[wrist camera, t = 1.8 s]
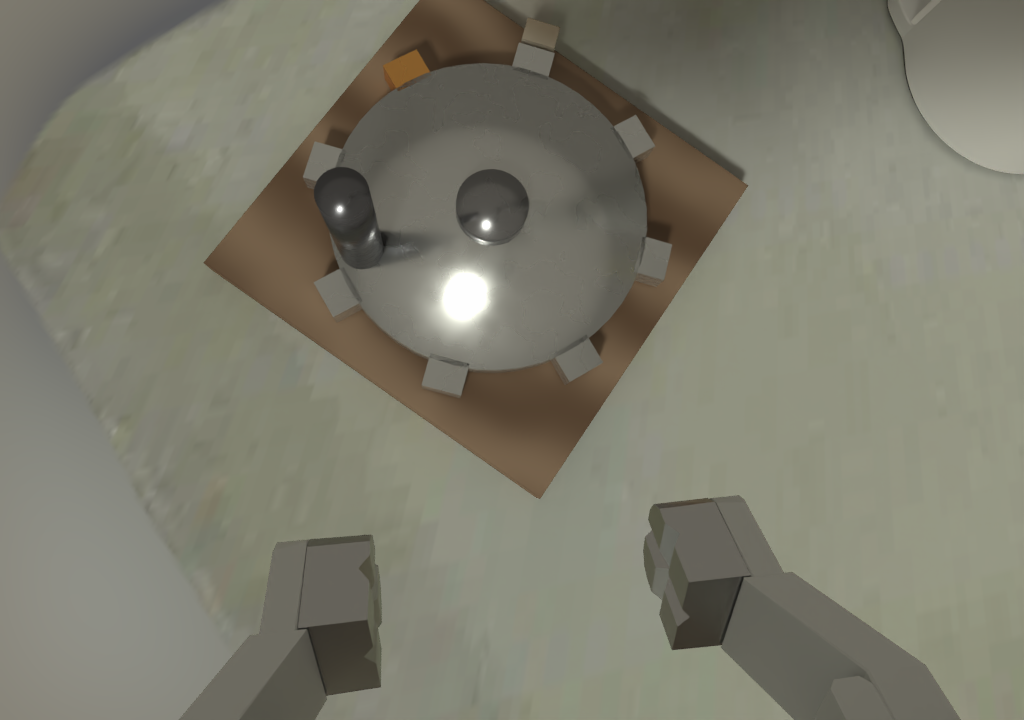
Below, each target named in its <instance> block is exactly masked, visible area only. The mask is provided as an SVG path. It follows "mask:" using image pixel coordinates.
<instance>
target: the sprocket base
mask: <svg viewBox="0 0 1024 720" xmlns="http://www.w3.org/2000/svg"><path fill="white" fill-rule="evenodd" d="M559 30H560V27H557V26H554V25H551V24H547V23H544V22H541V21H538V20H534V19H531V18H528V19H527V22H526V26H525V29H524V28H522V27H521V26H519V25H518V24H517V23H515V22H514V21H512V20H511V19H509V18H508V17H507V16H505V15H504V14H502V13H501V12H499V11H498V10H497V9H495V8H494V7H492V6H491V5H489V4H488V3H486V2H485V1H484V0H420V1H419V2H418V3H417V4H416V5H415V7H414V8H413V9H412V10H411V11H410V13H409V14H408V15H407V16H406V18H405V19H404V20H403V21H402V22H401V24H400V25H399V26H398V27H397V28H396V30H395V31H394V32H393V33H392V35H391V36H390V37H389V38H388V39H387V41H386V42H385V43H384V44H383V45H382V47H381V48H380V49H379V50H378V52H377V53H376V54H375V55H374V56H373V58H372V59H371V60H370V61H369V62H368V64H367V65H366V66H365V67H364V69H363V70H362V71H361V72H360V73H359V75H358V76H357V77H356V78H355V79H354V81H353V82H352V83H351V84H350V86H349V87H348V88H347V89H346V90H345V92H344V93H343V94H342V95H341V96H340V98H339V99H338V100H337V101H336V103H335V104H334V105H333V106H332V107H331V109H330V110H329V111H328V112H327V114H326V115H325V116H324V117H323V118H322V120H321V121H320V122H319V123H318V124H317V126H316V127H315V128H314V129H313V131H312V132H311V133H310V134H309V135H308V137H307V138H306V139H305V140H304V141H303V143H302V144H301V145H300V146H299V148H298V149H297V150H296V151H295V152H294V154H293V155H292V156H291V157H290V158H289V160H288V161H287V162H286V163H285V165H284V166H283V167H282V168H281V169H280V171H279V172H278V173H277V174H276V175H275V177H274V178H273V179H272V180H271V182H270V183H269V184H268V185H267V186H266V188H265V189H264V190H263V191H262V192H261V194H260V195H259V196H258V197H257V199H256V200H255V201H254V202H253V203H252V205H251V206H250V207H249V208H248V209H247V211H246V212H245V213H244V214H243V216H242V217H241V218H240V219H239V220H238V222H237V223H236V224H235V225H234V227H233V228H232V229H231V230H230V231H229V233H228V234H227V235H226V236H225V237H224V239H223V240H222V241H221V242H220V244H219V245H218V246H217V247H216V248H215V250H214V251H213V252H212V253H211V254H210V256H209V257H208V258H207V259H206V261H205V262H204V264H206V265H207V266H208V267H209V268H210V269H211V270H213V271H214V272H215V273H217V274H218V275H220V276H221V277H223V278H224V279H225V280H227V281H228V282H230V283H231V284H233V285H234V286H235V287H237V288H238V289H240V290H241V291H243V292H244V293H245V294H247V295H248V296H250V297H251V298H253V299H254V300H255V301H257V302H258V303H260V304H261V305H262V306H264V307H265V308H267V309H268V310H270V311H271V312H272V313H274V314H275V315H277V316H278V317H280V318H281V319H282V320H284V321H285V322H287V323H288V324H290V325H291V326H292V327H294V328H295V329H297V330H298V331H300V332H301V333H302V334H304V335H305V336H307V337H308V338H310V339H311V340H312V341H314V342H315V343H317V344H318V345H319V346H321V347H322V348H324V349H325V350H327V351H328V352H329V353H331V354H332V355H334V356H335V357H337V358H338V359H339V360H341V361H342V362H344V363H345V364H347V365H348V366H349V367H351V368H352V369H354V370H355V371H357V372H358V373H359V374H361V375H362V376H364V377H365V378H367V379H368V380H369V381H371V382H372V383H374V384H375V385H376V386H378V387H379V388H381V389H382V390H384V391H385V392H386V393H388V394H389V395H391V396H392V397H394V398H395V399H396V400H398V401H399V402H401V403H402V404H404V405H405V406H406V407H408V408H409V409H411V410H412V411H414V412H415V413H416V414H418V415H419V416H421V417H422V418H423V419H425V420H426V421H428V422H429V423H431V424H432V425H433V426H435V427H436V428H438V429H439V430H441V431H442V432H443V433H445V434H446V435H448V436H449V437H451V438H452V439H453V440H455V441H456V442H458V443H459V444H461V445H462V446H463V447H465V448H466V449H468V450H469V451H471V452H472V453H473V454H475V455H476V456H478V457H479V458H480V459H482V460H483V461H485V462H486V463H488V464H489V465H490V466H492V467H493V468H495V469H496V470H498V471H499V472H500V473H502V474H503V475H505V476H506V477H508V478H509V479H510V480H512V481H513V482H515V483H516V484H518V485H519V486H520V487H522V488H523V489H525V490H526V491H528V492H529V493H530V494H532V495H533V496H535V497H536V498H539V499H540V498H541V497H542V495H543V494H544V492H545V491H546V489H547V488H548V486H549V485H550V483H551V482H552V480H553V478H554V477H555V475H556V474H557V472H558V471H559V469H560V468H561V466H562V465H563V463H564V462H565V460H566V459H567V457H568V456H569V454H570V453H571V451H572V450H573V448H574V447H575V445H576V444H577V442H578V441H579V439H580V438H581V436H582V435H583V433H584V432H585V430H586V429H587V427H588V426H589V424H590V423H591V421H592V420H593V418H594V417H595V415H596V414H597V412H598V411H599V409H600V408H601V406H602V405H603V403H604V402H605V400H606V399H607V397H608V396H609V394H610V393H611V391H612V390H613V388H614V387H615V385H616V384H617V382H618V381H619V379H620V378H621V376H622V375H623V373H624V372H625V370H626V369H627V367H628V366H629V364H630V363H631V361H632V360H633V358H634V357H635V355H636V354H637V352H638V351H639V349H640V348H641V346H642V345H643V343H644V342H645V340H646V339H647V337H648V336H649V334H650V333H651V331H652V330H653V328H654V327H655V325H656V323H657V322H658V320H659V319H660V317H661V316H662V314H663V313H664V311H665V310H666V308H667V307H668V305H669V304H670V302H671V301H672V299H673V298H674V296H675V295H676V293H677V292H678V290H679V289H680V287H681V286H682V284H683V283H684V281H685V280H686V278H687V277H688V275H689V274H690V272H691V271H692V269H693V268H694V266H695V265H696V263H697V262H698V260H699V259H700V257H701V256H702V254H703V253H704V251H705V250H706V248H707V247H708V245H709V244H710V242H711V241H712V239H713V238H714V236H715V235H716V233H717V232H718V230H719V229H720V227H721V226H722V224H723V223H724V221H725V220H726V218H727V217H728V215H729V214H730V212H731V211H732V209H733V208H734V206H735V205H736V203H737V202H738V200H739V199H740V197H741V196H742V194H743V193H744V191H745V190H746V188H747V187H748V185H747V184H745V183H744V182H742V181H741V180H740V179H738V178H737V177H735V176H734V175H732V174H731V173H730V172H728V171H727V170H725V169H724V168H722V167H721V166H720V165H718V164H717V163H715V162H714V161H712V160H711V159H710V158H708V157H707V156H705V155H704V154H702V153H701V152H700V151H698V150H697V149H695V148H694V147H692V146H691V145H690V144H688V143H687V142H685V141H684V140H682V139H681V138H680V137H678V136H677V135H675V134H674V133H672V132H671V131H670V130H668V129H667V128H665V127H664V126H662V125H661V124H660V123H658V122H657V121H655V120H654V119H652V118H651V117H649V116H648V115H647V114H645V113H644V112H642V111H641V110H639V109H638V108H637V107H635V106H634V105H632V104H631V103H629V102H628V101H627V100H625V99H624V98H622V97H621V96H619V95H618V94H617V93H615V92H614V91H612V90H611V89H609V88H608V87H607V86H605V85H604V84H602V83H601V82H599V81H598V80H597V79H595V78H594V77H592V76H591V75H589V74H588V73H587V72H585V71H584V70H582V69H581V68H579V67H578V66H577V65H575V64H574V63H572V62H571V61H569V60H568V59H567V58H565V57H564V56H562V55H561V54H559V53H558V52H557V51H555V50H554V48H555V45H556V41H557V37H558V34H559ZM519 42H520V43H523V44H526V45H530V46H533V47H536V48H540V49H543V50H546V51H549V52H553V53H555V55H554V58H553V62H552V66H551V69H550V73H549V76H548V77H550V78H552V79H554V80H556V81H558V82H561V83H562V84H564V85H566V86H567V87H569V88H571V89H572V90H574V91H576V92H577V93H579V94H580V95H581V96H583V97H584V98H585V99H586V100H588V101H589V102H590V103H591V104H593V105H594V106H595V107H596V108H597V109H598V110H599V111H600V112H601V113H602V114H603V115H604V116H605V117H606V118H607V119H608V120H609V121H610V123H611V124H612V125H613V126H615V125H617V124H619V123H621V122H623V121H625V120H627V119H629V118H631V117H633V116H634V115H636V116H637V117H638V119H639V121H640V122H641V124H642V125H643V127H644V129H645V130H646V132H647V133H648V135H649V137H650V138H651V140H652V142H653V143H654V145H655V147H654V149H653V150H652V152H651V153H650V155H649V156H648V157H647V158H645V159H643V160H641V161H640V162H638V163H636V167H637V169H638V171H639V175H640V178H641V182H642V185H643V189H644V194H645V201H646V208H647V233H646V237H648V238H652V239H655V240H659V241H662V242H666V243H669V244H672V248H671V252H670V257H669V261H668V265H667V270H666V274H665V278H664V281H662V282H661V283H660V284H659V285H658V286H656V287H655V286H652V285H648V284H645V283H641V282H638V281H634V283H633V285H632V287H631V289H630V290H629V292H628V294H627V296H626V297H625V299H624V301H623V302H622V304H621V305H620V306H619V308H618V309H617V310H616V312H615V313H614V314H613V315H612V317H611V318H610V319H609V320H608V321H607V322H606V323H605V324H604V325H603V326H602V327H601V328H600V329H599V330H598V331H597V332H596V333H595V334H593V335H592V336H591V337H590V338H589V340H590V341H591V343H592V345H593V346H594V348H595V350H596V351H597V353H598V355H599V356H600V358H601V360H602V361H603V363H602V364H600V365H598V366H597V367H595V368H593V369H592V370H590V371H588V372H586V373H585V374H583V375H581V376H580V377H578V378H576V379H574V380H573V381H571V382H569V383H568V384H566V385H565V384H564V383H563V381H562V379H561V378H560V376H559V374H558V373H557V371H556V369H555V367H554V366H553V364H552V362H551V361H550V362H547V363H545V364H542V365H539V366H537V367H532V368H528V369H524V370H520V371H514V372H504V373H475V372H467V376H466V379H465V383H464V387H463V390H462V394H461V397H460V398H457V397H453V396H450V395H446V394H442V393H438V392H435V391H431V390H427V389H424V388H422V381H423V378H424V374H425V371H426V367H427V364H428V360H426V359H424V358H422V357H419V356H417V355H415V354H413V353H412V352H410V351H409V350H407V349H405V348H404V347H402V346H400V345H399V344H397V343H396V342H395V341H393V340H392V339H391V338H390V337H389V336H387V335H386V334H385V333H384V332H382V331H381V330H380V329H379V328H378V327H377V326H376V325H375V324H374V322H373V321H372V320H371V319H370V318H369V317H368V316H367V315H366V314H365V312H364V311H363V309H362V310H360V311H358V312H356V313H354V314H352V315H351V316H349V317H347V318H345V319H343V320H341V321H339V322H336V321H335V319H334V318H333V316H332V314H331V313H330V311H329V309H328V307H327V305H326V304H325V302H324V300H323V298H322V297H321V295H320V293H319V291H318V290H317V288H316V286H315V284H314V282H315V281H317V280H319V279H321V278H323V277H325V276H327V275H329V274H330V273H332V272H334V271H336V270H338V269H340V268H339V265H338V263H337V260H336V257H335V255H334V251H333V246H332V242H331V237H330V232H329V230H328V228H327V226H326V223H325V221H324V219H323V217H322V215H321V213H320V211H319V208H318V206H317V204H316V202H315V199H314V189H310V188H308V187H307V185H306V183H305V181H304V179H303V175H304V172H305V169H306V166H307V163H308V160H309V157H310V154H311V151H312V148H313V145H314V142H319V143H322V144H326V145H329V146H333V147H336V148H340V149H343V147H344V145H345V143H346V141H347V139H348V137H349V136H350V134H351V133H352V131H353V130H354V129H355V127H356V126H357V124H358V123H359V121H360V120H361V119H362V118H363V117H364V116H365V115H366V114H367V112H368V111H369V110H370V109H371V108H372V107H373V106H374V105H375V104H376V103H378V102H379V101H380V100H381V99H382V98H384V97H385V96H386V95H387V94H388V93H390V92H391V89H390V87H389V86H388V84H387V82H386V81H385V77H384V70H383V65H385V64H387V63H389V62H391V61H393V60H395V59H397V58H399V57H401V56H404V55H406V54H408V53H410V52H412V51H414V50H416V49H417V51H418V52H419V54H420V56H421V57H422V59H423V61H424V63H425V64H426V66H427V68H428V69H429V71H430V72H432V71H435V70H438V69H442V68H445V67H451V66H457V65H462V64H478V63H489V64H503V65H509V66H512V65H513V62H514V58H515V55H516V51H517V47H518V44H519Z"/></svg>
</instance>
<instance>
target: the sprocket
mask: <svg viewBox="0 0 1024 720" xmlns="http://www.w3.org/2000/svg"><path fill="white" fill-rule="evenodd" d="M554 55H555V53H553V52H549V51H546V50H543V49H540V48H536V47H533V46H530V45H526V44H523V43H520V42H519V44H518V47H517V51H516V55H515V58H514V62H513V65H512V66H509V65H503V64H489V63H478V64H462V65H457V66H451V67H445V68H442V69H438V70H435V71H432V72H430V71H429V69H428V68H427V66H426V64H425V63H424V61H423V59H422V57H421V56H420V54H419V52H418V51H417V49H416V50H414V51H412V52H410V53H408V54H406V55H404V56H401V57H399V58H397V59H395V60H393V61H391V62H389V63H387V64H385V65H383V70H384V77H385V81H386V82H387V84H388V86H389V87H390V89H391V92H390V93H388V94H387V95H386V96H385V97H384V98H382V99H381V100H380V101H379V102H378V103H376V104H375V105H374V106H373V107H372V108H371V109H370V110H369V111H368V112H367V114H366V115H365V116H364V117H363V118H362V119H361V120H360V121H359V123H358V124H357V126H356V127H355V129H354V130H353V131H352V133H351V134H350V136H349V137H348V139H347V141H346V143H345V145H344V147H343V149H340V148H336V147H333V146H329V145H326V144H322V143H319V142H314V145H313V148H312V151H311V154H310V157H309V160H308V163H307V166H306V169H305V172H304V175H303V179H304V181H305V183H306V185H307V187H308V188H310V189H314V199H315V202H316V204H317V206H318V208H319V211H320V213H321V215H322V217H323V219H324V221H325V223H326V226H327V228H328V230H329V232H330V237H331V242H332V246H333V251H334V255H335V257H336V260H337V263H338V265H339V268H340V269H338V270H336V271H334V272H332V273H330V274H329V275H327V276H325V277H323V278H321V279H319V280H317V281H315V282H314V284H315V286H316V288H317V290H318V291H319V293H320V295H321V297H322V298H323V300H324V302H325V304H326V305H327V307H328V309H329V311H330V313H331V314H332V316H333V318H334V319H335V321H336V322H339V321H341V320H343V319H345V318H347V317H349V316H351V315H352V314H354V313H356V312H358V311H360V310H362V309H363V311H364V312H365V314H366V315H367V316H368V317H369V318H370V319H371V320H372V321H373V322H374V324H375V325H376V326H377V327H378V328H379V329H380V330H381V331H382V332H384V333H385V334H386V335H387V336H389V337H390V338H391V339H392V340H393V341H395V342H396V343H397V344H399V345H400V346H402V347H404V348H405V349H407V350H409V351H410V352H412V353H413V354H415V355H417V356H419V357H422V358H424V359H426V360H428V364H427V367H426V371H425V374H424V378H423V381H422V388H424V389H427V390H431V391H435V392H438V393H442V394H446V395H450V396H453V397H457V398H460V397H461V394H462V390H463V387H464V383H465V379H466V376H467V372H475V373H504V372H514V371H520V370H524V369H528V368H532V367H537V366H539V365H542V364H545V363H547V362H550V361H551V362H552V364H553V366H554V367H555V369H556V371H557V373H558V374H559V376H560V378H561V379H562V381H563V383H564V384H565V385H566V384H568V383H569V382H571V381H573V380H574V379H576V378H578V377H580V376H581V375H583V374H585V373H586V372H588V371H590V370H592V369H593V368H595V367H597V366H598V365H600V364H602V363H603V361H602V360H601V358H600V356H599V355H598V353H597V351H596V350H595V348H594V346H593V345H592V343H591V341H590V340H589V338H590V337H591V336H592V335H593V334H595V333H596V332H597V331H598V330H599V329H600V328H601V327H602V326H603V325H604V324H605V323H606V322H607V321H608V320H609V319H610V318H611V317H612V315H613V314H614V313H615V312H616V310H617V309H618V308H619V306H620V305H621V304H622V302H623V301H624V299H625V297H626V296H627V294H628V292H629V290H630V289H631V287H632V285H633V283H634V281H638V282H641V283H645V284H648V285H652V286H655V287H656V286H658V285H659V284H660V283H661V282H662V281H664V278H665V274H666V270H667V265H668V261H669V257H670V252H671V248H672V244H669V243H666V242H662V241H659V240H655V239H652V238H648V237H646V233H647V208H646V201H645V194H644V189H643V185H642V182H641V178H640V175H639V171H638V169H637V167H636V163H638V162H640V161H641V160H643V159H645V158H647V157H648V156H649V155H650V153H651V152H652V150H653V149H654V147H655V145H654V143H653V142H652V140H651V138H650V137H649V135H648V133H647V132H646V130H645V129H644V127H643V125H642V124H641V122H640V121H639V119H638V117H637V116H636V115H634V116H633V117H631V118H629V119H627V120H625V121H623V122H621V123H619V124H617V125H615V126H613V125H612V124H611V123H610V121H609V120H608V119H607V118H606V117H605V116H604V115H603V114H602V113H601V112H600V111H599V110H598V109H597V108H596V107H595V106H594V105H593V104H591V103H590V102H589V101H588V100H586V99H585V98H584V97H583V96H581V95H580V94H579V93H577V92H576V91H574V90H572V89H571V88H569V87H567V86H566V85H564V84H562V83H561V82H558V81H556V80H554V79H552V78H550V77H548V76H549V73H550V69H551V66H552V62H553V58H554Z"/></svg>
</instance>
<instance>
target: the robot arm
mask: <svg viewBox="0 0 1024 720" xmlns="http://www.w3.org/2000/svg"><path fill="white" fill-rule="evenodd" d="M888 9H889V12H890V15H891V17H892V20H893V22H894V24H895V26H896V28H897V30H898V32H899V34H900V36H901V38H902V41H903V46H904V55H905V68H906V75H907V80H908V84H909V87H910V90H911V93H912V96H913V98H914V101H915V103H916V105H917V107H918V109H919V111H920V113H921V114H922V116H923V117H924V119H925V120H926V122H927V123H928V125H929V126H930V127H931V128H932V130H933V131H934V132H935V133H936V134H937V135H938V136H939V137H940V138H941V139H942V140H943V141H944V142H945V143H946V144H947V145H948V146H949V147H951V148H952V149H953V150H955V151H956V152H957V153H959V154H960V155H962V156H963V157H965V158H967V159H968V160H970V161H972V162H974V163H976V164H978V165H981V166H983V167H986V168H989V169H992V170H996V171H1000V172H1005V173H1013V174H1024V0H888ZM648 520H649V523H650V526H651V528H652V531H651V532H650V533H649V534H648V535H647V536H645V541H644V549H643V553H644V567H645V571H646V575H647V579H648V582H649V585H650V588H651V591H652V592H653V593H654V594H655V595H657V596H658V597H659V598H660V599H661V600H662V605H661V609H660V614H659V615H660V618H661V620H662V623H663V626H664V629H665V632H666V635H667V637H668V640H669V643H670V646H671V649H672V650H678V649H688V648H698V647H708V646H718V645H722V647H721V648H722V649H723V650H724V651H725V652H726V653H727V654H728V655H729V656H730V657H731V658H732V659H733V660H734V661H735V662H736V663H737V664H738V665H739V666H740V667H741V668H742V669H743V670H744V671H745V672H746V673H747V674H748V675H749V676H750V677H751V678H752V679H753V680H755V681H756V682H757V683H758V684H759V685H760V686H761V687H762V688H763V689H764V690H765V691H766V692H767V693H768V694H769V695H770V696H771V697H772V698H773V699H774V700H775V701H776V702H777V703H778V704H779V705H780V706H781V707H782V708H783V709H784V710H785V711H786V712H787V713H788V714H789V715H790V716H791V717H792V718H793V719H794V720H961V719H960V718H959V716H958V715H957V713H956V712H955V710H954V709H953V707H952V705H951V704H950V702H949V701H948V699H947V698H946V696H945V695H944V693H943V691H942V690H941V688H940V687H939V685H938V684H937V682H936V681H935V679H934V677H933V676H932V674H931V673H930V671H929V670H928V668H927V666H926V665H925V664H923V663H922V662H920V661H919V660H918V659H916V658H915V657H913V656H912V655H910V654H909V653H908V652H906V651H905V650H903V649H902V648H900V647H899V646H898V645H896V644H895V643H893V642H892V641H890V640H889V639H887V638H886V637H885V636H883V635H882V634H880V633H879V632H877V631H876V630H875V629H873V628H872V627H870V626H869V625H867V624H866V623H865V622H863V621H862V620H860V619H859V618H857V617H856V616H855V615H853V614H852V613H850V612H849V611H847V610H846V609H845V608H843V607H842V606H840V605H839V604H837V603H836V602H835V601H833V600H832V599H830V598H829V597H827V596H826V595H825V594H823V593H822V592H820V591H819V590H817V589H816V588H814V587H813V586H812V585H810V584H809V583H807V582H806V581H804V580H803V579H802V578H800V577H799V576H797V575H796V574H794V573H793V572H787V573H784V572H783V570H782V568H781V566H780V565H779V563H778V561H777V559H776V557H775V555H774V553H773V552H772V550H771V548H770V546H769V544H768V542H767V541H766V539H765V537H764V535H763V533H762V531H761V529H760V528H759V526H758V524H757V522H756V520H755V518H754V517H753V515H752V513H751V511H750V509H749V507H748V505H747V504H746V502H745V500H744V499H743V498H742V497H740V496H739V495H737V496H728V497H718V498H710V499H708V498H704V499H695V500H687V501H678V502H669V503H661V504H653V506H652V507H651V509H650V513H649V518H648ZM381 623H382V601H381V584H380V575H379V568H378V565H376V564H375V545H374V540H373V535H360V536H347V537H334V538H321V539H309V540H299V541H288V542H277V544H276V546H275V548H274V550H273V553H272V560H271V566H270V572H269V578H268V584H267V590H266V596H265V602H264V608H263V614H262V620H261V626H260V632H259V634H257V635H250V636H249V637H248V638H247V639H246V640H245V642H244V643H243V644H242V645H241V646H240V648H239V649H238V650H237V651H236V652H235V653H234V655H233V656H232V657H231V658H230V660H229V661H228V662H227V663H226V664H225V666H224V667H223V668H222V669H221V670H220V671H219V673H218V674H217V675H216V676H215V677H214V679H213V680H212V681H211V682H210V683H209V685H208V686H207V687H206V688H205V689H204V690H203V692H202V693H201V694H200V695H199V697H198V698H197V699H196V700H195V701H194V702H193V704H192V705H191V706H190V707H189V708H188V709H187V711H186V712H185V713H184V714H183V715H182V717H181V718H180V719H179V720H315V719H316V717H317V715H318V713H319V712H320V710H321V708H322V707H323V705H324V703H325V702H326V700H327V697H326V696H328V695H334V694H341V693H347V692H353V691H360V690H366V689H373V688H379V687H381V649H382V648H381V642H380V637H379V631H378V628H379V626H380V625H381Z"/></svg>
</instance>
